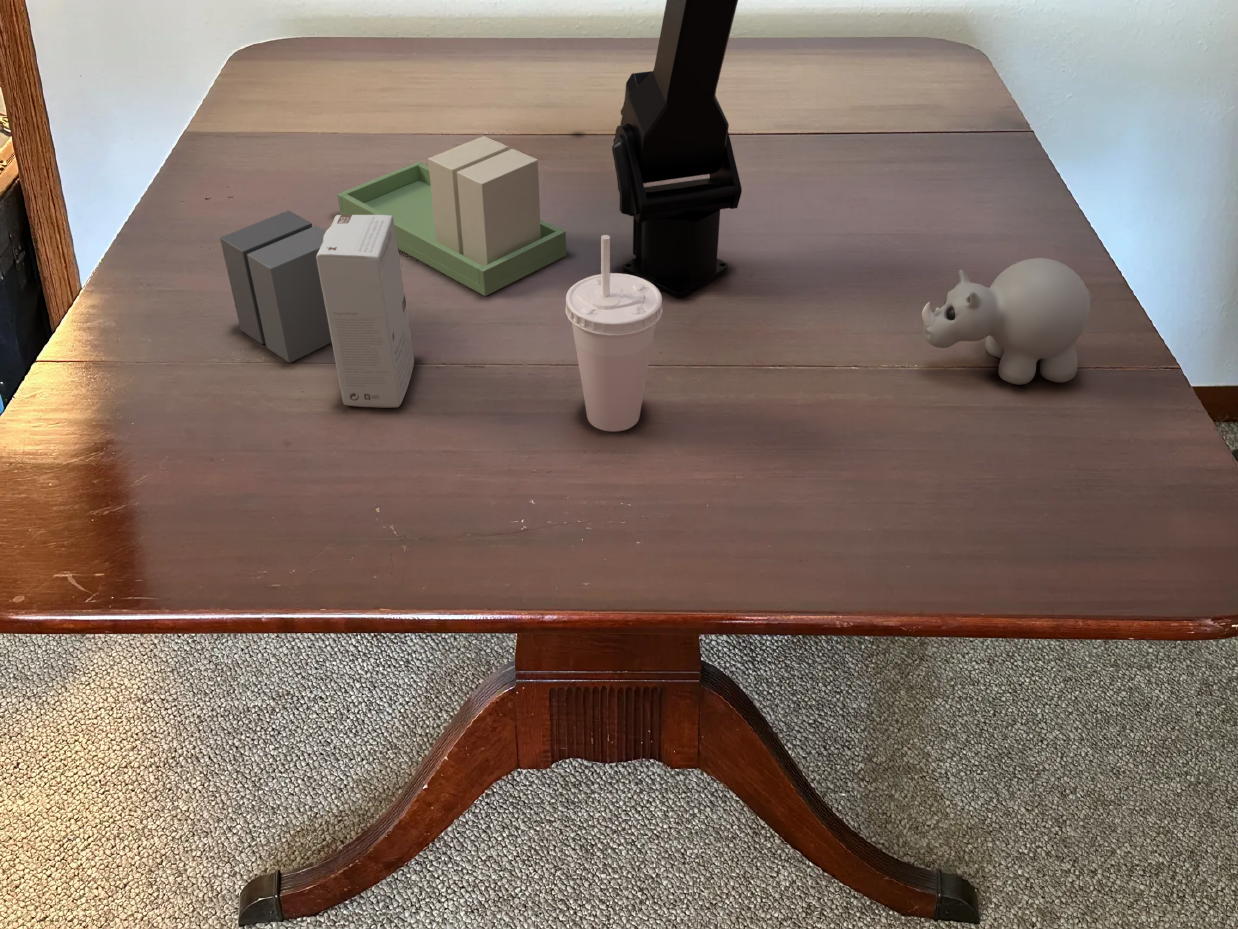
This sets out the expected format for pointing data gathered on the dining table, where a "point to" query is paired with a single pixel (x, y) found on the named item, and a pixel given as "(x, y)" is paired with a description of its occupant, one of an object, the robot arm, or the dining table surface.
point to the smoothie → (613, 341)
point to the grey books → (279, 284)
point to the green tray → (416, 236)
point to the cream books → (485, 199)
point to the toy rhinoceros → (1018, 319)
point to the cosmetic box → (366, 309)
